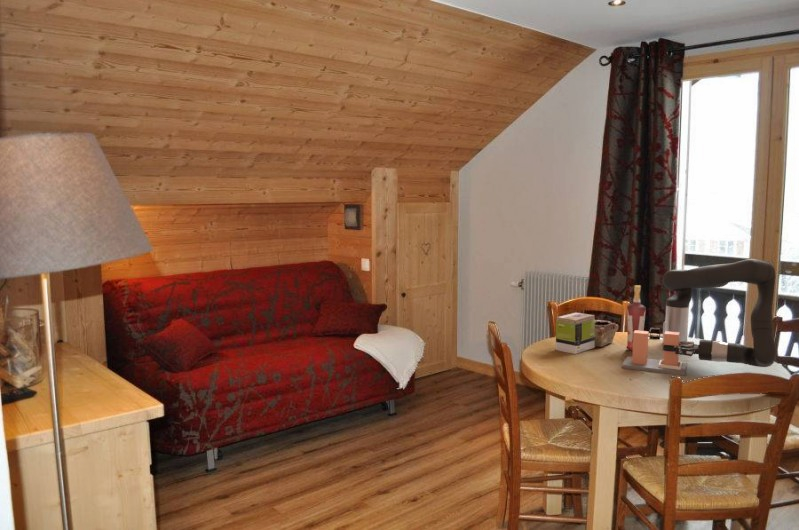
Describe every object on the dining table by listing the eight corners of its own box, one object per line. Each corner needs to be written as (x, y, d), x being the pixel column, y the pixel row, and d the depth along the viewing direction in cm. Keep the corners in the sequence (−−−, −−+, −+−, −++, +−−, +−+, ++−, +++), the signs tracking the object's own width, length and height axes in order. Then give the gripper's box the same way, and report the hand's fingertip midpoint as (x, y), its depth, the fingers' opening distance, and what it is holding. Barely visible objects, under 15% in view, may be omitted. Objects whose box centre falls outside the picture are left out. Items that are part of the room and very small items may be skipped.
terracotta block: (662, 364, 241) (664, 333, 240) (664, 361, 245) (665, 331, 244) (677, 366, 239) (678, 334, 237) (678, 363, 243) (679, 332, 242)
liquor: (643, 353, 264) (646, 287, 261) (625, 352, 267) (627, 286, 264) (644, 349, 271) (646, 285, 268) (625, 348, 274) (628, 284, 270)
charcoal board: (622, 367, 243) (623, 334, 242) (627, 359, 256) (628, 327, 254) (684, 375, 233) (686, 340, 232) (686, 366, 246) (688, 332, 244)
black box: (669, 337, 295) (669, 327, 294) (670, 341, 288) (671, 331, 287) (639, 335, 299) (639, 325, 299) (639, 339, 292) (640, 329, 291)
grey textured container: (573, 343, 282) (573, 322, 281) (596, 336, 295) (597, 316, 294) (600, 349, 272) (600, 327, 271) (623, 341, 286) (624, 320, 284)
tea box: (574, 344, 281) (575, 311, 279) (594, 348, 273) (596, 314, 271) (554, 350, 271) (555, 316, 269) (574, 354, 263) (576, 319, 262)
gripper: (714, 337, 241) (665, 332, 248) (713, 345, 228) (662, 340, 236) (713, 356, 241) (664, 351, 249) (712, 365, 229) (661, 360, 237)
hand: (663, 346), depth 242 cm, fingers closed on terracotta block, 5 cm apart
